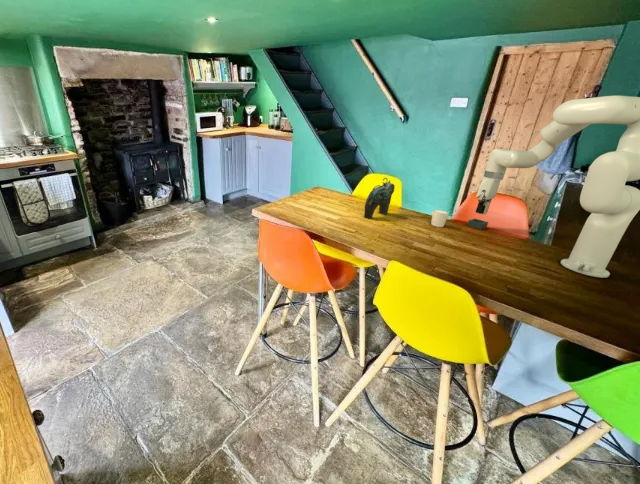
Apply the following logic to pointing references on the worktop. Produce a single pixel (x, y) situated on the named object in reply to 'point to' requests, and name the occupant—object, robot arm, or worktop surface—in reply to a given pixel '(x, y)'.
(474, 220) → the dark square tray
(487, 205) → the peg
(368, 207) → the dark green arched piece
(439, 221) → the cream cup
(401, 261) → the worktop surface
